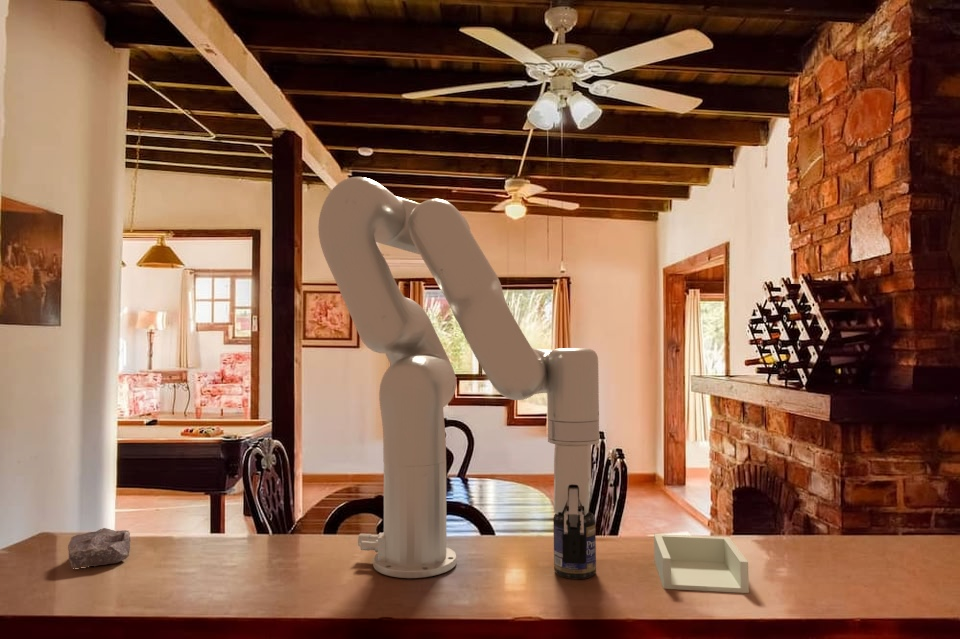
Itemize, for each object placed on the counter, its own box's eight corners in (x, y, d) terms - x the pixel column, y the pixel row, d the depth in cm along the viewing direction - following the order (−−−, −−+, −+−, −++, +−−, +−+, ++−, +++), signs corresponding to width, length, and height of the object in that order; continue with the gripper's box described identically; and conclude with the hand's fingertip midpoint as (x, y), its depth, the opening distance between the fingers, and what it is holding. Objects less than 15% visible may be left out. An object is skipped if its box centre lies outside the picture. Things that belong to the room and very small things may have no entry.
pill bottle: (595, 581, 89) (594, 502, 90) (552, 578, 91) (551, 500, 91) (596, 566, 95) (595, 492, 96) (555, 564, 97) (554, 490, 97)
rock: (135, 545, 107) (135, 517, 108) (127, 567, 97) (127, 536, 97) (78, 552, 104) (78, 524, 104) (64, 576, 94) (64, 544, 94)
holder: (663, 588, 87) (663, 558, 87) (654, 561, 98) (654, 534, 98) (748, 593, 85) (748, 562, 85) (729, 564, 96) (729, 537, 96)
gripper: (550, 424, 103) (551, 534, 102) (544, 440, 86) (545, 572, 85) (597, 424, 102) (599, 536, 101) (601, 441, 85) (602, 575, 84)
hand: (574, 552), depth 93 cm, fingers open, 7 cm apart
